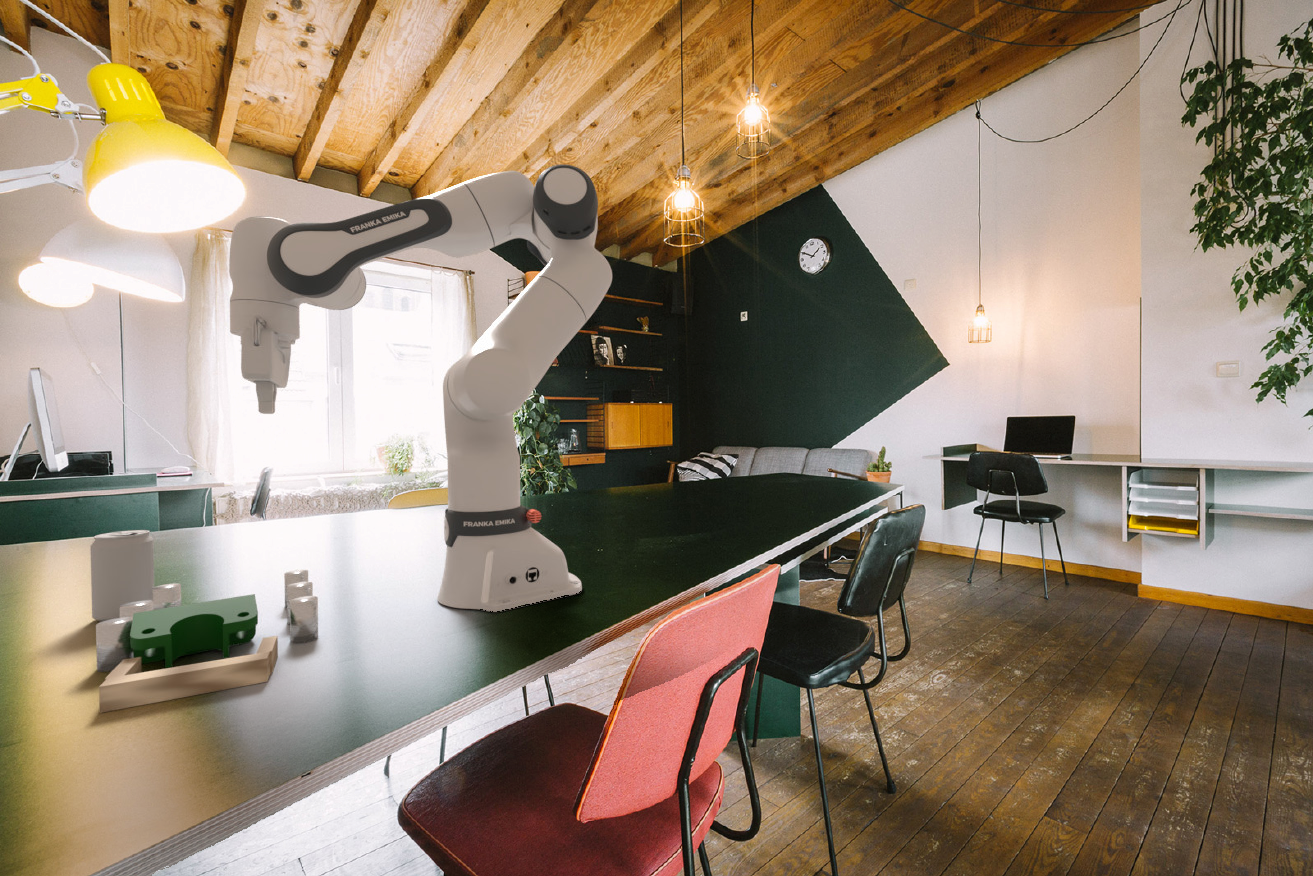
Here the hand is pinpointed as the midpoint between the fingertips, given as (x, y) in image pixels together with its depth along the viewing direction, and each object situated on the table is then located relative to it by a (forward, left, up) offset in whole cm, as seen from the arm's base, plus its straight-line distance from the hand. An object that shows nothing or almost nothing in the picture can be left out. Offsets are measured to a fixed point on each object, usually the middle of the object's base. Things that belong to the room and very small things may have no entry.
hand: (267, 413), depth 85 cm
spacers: (+3, +14, -29) cm, 32 cm away
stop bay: (+3, +30, -29) cm, 42 cm away
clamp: (+4, +22, -30) cm, 37 cm away
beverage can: (+17, 0, -29) cm, 34 cm away
